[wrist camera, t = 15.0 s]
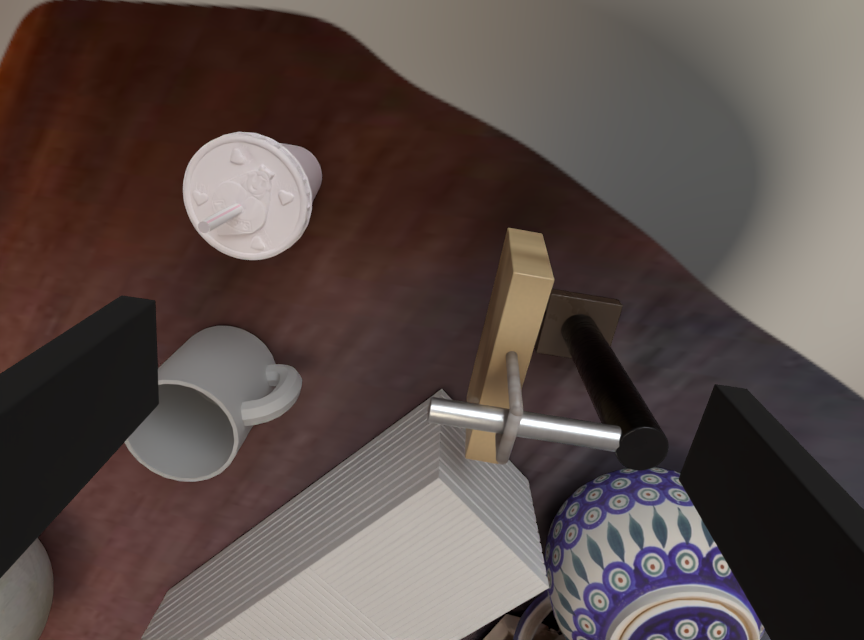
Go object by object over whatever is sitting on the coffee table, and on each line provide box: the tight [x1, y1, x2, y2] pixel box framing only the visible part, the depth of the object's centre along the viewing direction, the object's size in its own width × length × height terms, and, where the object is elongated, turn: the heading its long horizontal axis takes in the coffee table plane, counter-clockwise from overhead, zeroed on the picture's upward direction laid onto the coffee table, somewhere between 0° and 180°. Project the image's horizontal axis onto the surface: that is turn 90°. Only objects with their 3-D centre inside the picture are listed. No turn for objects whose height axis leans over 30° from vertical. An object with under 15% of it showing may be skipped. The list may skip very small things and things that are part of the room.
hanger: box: [465, 228, 554, 465], centre depth 31 cm, size 12×2×11 cm, turn 170°
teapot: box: [513, 467, 765, 640], centre depth 40 cm, size 25×15×15 cm, turn 128°
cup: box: [125, 326, 302, 482], centre depth 39 cm, size 7×10×9 cm
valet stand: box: [427, 289, 668, 471], centre depth 34 cm, size 4×12×16 cm, turn 81°
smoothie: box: [183, 132, 322, 260], centre depth 31 cm, size 6×6×14 cm
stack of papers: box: [141, 389, 549, 640], centre depth 44 cm, size 32×11×11 cm, turn 131°
